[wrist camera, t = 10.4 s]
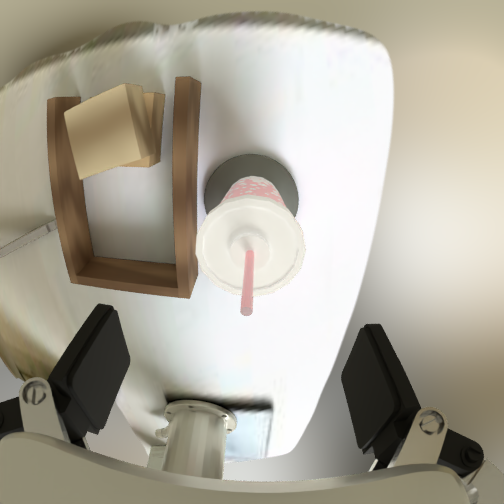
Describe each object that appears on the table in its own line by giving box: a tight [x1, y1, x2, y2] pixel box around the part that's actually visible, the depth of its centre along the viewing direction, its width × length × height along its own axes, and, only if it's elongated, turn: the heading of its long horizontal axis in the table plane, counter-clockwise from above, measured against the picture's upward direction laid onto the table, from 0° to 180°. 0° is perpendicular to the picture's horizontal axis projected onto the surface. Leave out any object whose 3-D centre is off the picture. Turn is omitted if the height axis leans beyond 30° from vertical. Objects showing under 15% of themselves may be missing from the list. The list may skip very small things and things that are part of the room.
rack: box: [47, 76, 201, 299], centre depth 21 cm, size 18×13×4 cm
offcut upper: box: [64, 83, 156, 180], centre depth 17 cm, size 6×6×3 cm
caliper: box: [0, 219, 58, 258], centre depth 24 cm, size 20×1×6 cm, turn 104°
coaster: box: [204, 154, 299, 218], centre depth 23 cm, size 8×8×1 cm
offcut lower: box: [91, 93, 165, 167], centre depth 20 cm, size 6×6×3 cm
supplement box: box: [147, 446, 166, 471], centre depth 46 cm, size 7×7×13 cm
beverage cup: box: [195, 176, 306, 316], centre depth 17 cm, size 6×6×14 cm
